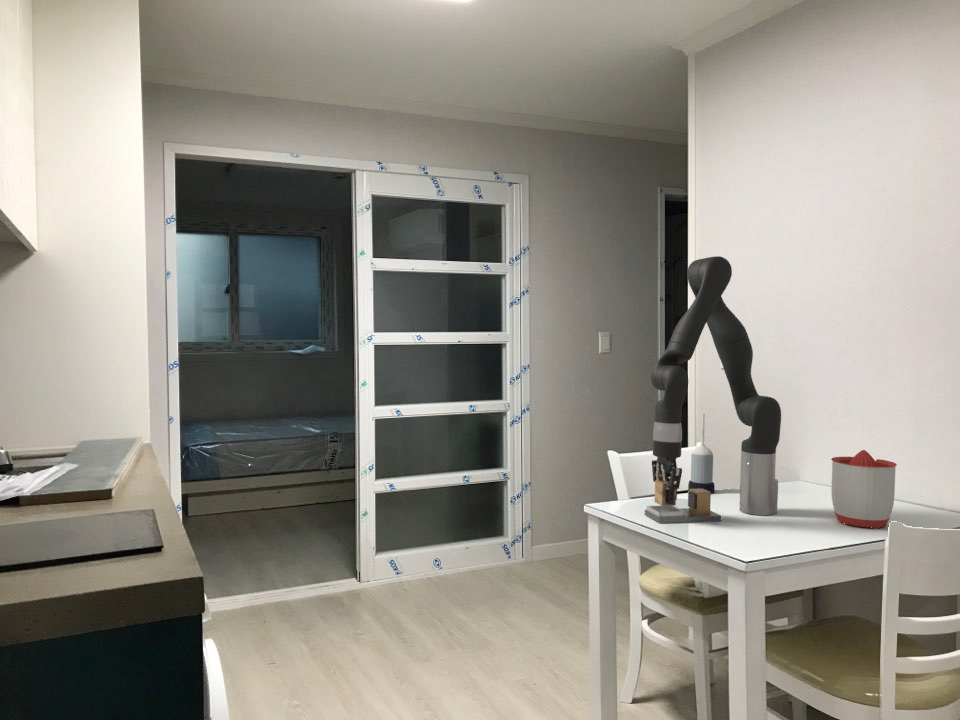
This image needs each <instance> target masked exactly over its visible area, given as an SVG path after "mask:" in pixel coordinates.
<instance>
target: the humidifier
mask: <svg viewBox="0 0 960 720" xmlns="http://www.w3.org/2000/svg"><path fill="white" fill-rule="evenodd" d="M700 434H701V435H700V437H701V438H700V444H699V445H698V446H696V447H695V448H694V449H693V450H692V452H691V455H690V456H691V459H690V480H689V481H688V484H687V485H688V487H687V488H688V489H687V491H688V492H689V489H705V490H707V491H710V492H711V495H712V494H714V493H715V482H713V475H714V472H713V471H714V454H713V452H712V450H711V449H710V448H709V447H707V446H706V444H705V413H701V433H700Z"/></svg>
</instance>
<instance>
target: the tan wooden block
mask: <svg viewBox="0 0 960 720" xmlns="http://www.w3.org/2000/svg"><path fill="white" fill-rule="evenodd" d="M669 482H670V481H669ZM665 485H666V483H665V481H663V480H655V482H654V503H655V504H657V505H658V506H675V507H677V500H678V499H677V498H678V489H676V490H674V503H673V504H667V503H665V495H666V487H665Z"/></svg>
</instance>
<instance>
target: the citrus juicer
mask: <svg viewBox="0 0 960 720" xmlns="http://www.w3.org/2000/svg"><path fill="white" fill-rule="evenodd" d="M830 460H831V465H832V466H831V468H832V469H831V500H832V501H831V502H832V506H833V511H834V512H833V513H834V514H835V517H836V519H837V521H838V522H840V523H842V524H843V523H845V524H849V525H848V526H854V527H861V528H869V527H872V528H871V529H873V528H877V529H878V528H884V527H886V526H887V525H888V522H889V520H890V519H891V518H890V517H891V514H892V512H893V508H894V503H895V493H896V491H895V490H896V489H895V488H896V486H895V485H896V467H897V463H896V462H893V461H890V460H885V459H878V458H877V459H876V460H875V458H874V457H872V455H871V453H869V452H868V451H867V450H865V449H863V450H862V449H861V451H859V452H858V453H856V454H855V455H854V456H834V457H832V458H831V459H830ZM845 524H844V525H845Z"/></svg>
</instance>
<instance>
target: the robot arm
mask: <svg viewBox="0 0 960 720" xmlns="http://www.w3.org/2000/svg"><path fill="white" fill-rule="evenodd" d="M686 271H687V272H686V275H687V281H688V285H689V287H690V289H691V291H692V293H693V295H694V297H695V298H694V300H693V302H692V303H691V305H690V306H689V308H688V309H687V310H686V312H685V313H684V314H683V316H681V318H680V319H679V321H678V323H677V324H676V326H675V327H674V329H673V332H672V334H671V337H670V339H669V342H668V344H667V347H666V349H665V350H664V351H663V353H662V354H661V356H660V357H659V359H658V360H657V361H656V363H655V364H654V366H653V367H652V368H653V369H652V371H651V375H650V380H651V385H652V386H653V387H654V388H655V389H656V390H657V391H662V392H663V391H664V395H663V399H661V400H657V401H656V403H655V405H654V423H653V429H652V431H653V432H652V433H653V434H652V436H653V437H652V455H653V456H654V457H656V459H655V460H653V459H652V460H651V470H652V471H651V472H652V481H653V483H655V480H663V481H665V483H666V485H665V487H666V495H665V503H667V504H673V503H674V490H676V489H677V490H678V489H680V486H681V480H682V474H683V468H681V467H677V466H678V465H677V459H678V458H680V457H681V456H682V442H683V429H682V417H683V416H682V415H683V413H682V412H683V411H682V407H683V405H684V402H685V399H686V395H687V391H688V388H689V377H688V373H687V371H686V369H684V368H683V367H682V366H681V365H682V364H683V363H685V362H688V361H690V360H691V359H692V358H693V356H694V353H695V350H696V348H697V345H698V343H699V340H700V338H701V335H702V334H703V333H702V332H703V330H704V328H705V326H706V325H707V327H708V329H709V332H710V334H711V338H712V341H713V344H714V347H715V349H716V353H717V354H718V355H717V356H718V358H719V359H720V360H719V361H720V363H721V365H722V367H723V370H724V373H725V376H726V379H727V382H728V384H729V388H730V391H731V396H732V401H733V405H734V408H735V413H736V415H737V417H738V419H739V421H740V422H741V423H742V424H743V425H745V426H748V427H751V432H750V436H748V438H746V439H743V440H742V442H741V445H740V447H741V449H740V452H741V453H740V478H739V479H740V481H739V482H740V483H739V511H740V512H741V513H745V514H749V515H757V516H771V515H774V514H778V497H779V496H778V495H779V480H778V479H776V462H777V461H776V458H777V456H776V455H777V447H778V445H779V442H780V435H781V427H782V426H781V425H782V408H781V406H780V403H779V402H778V400H777V399H775V398H774V397H771V396H767V395H766V396H765V395H760V394H759V393H758V391H757V388H756V387H755V384H754V380H753V377H752V366H753V359H754V352H753V351H754V349H753V347H752V343H751V341H750V338H749V334H748V332H747V330H746V327H745V326H744V325H743V323H742V322H741V320H739V319H738V317H737V316H736V315H735V313H733V312H732V311H731V309H730V308H729V307H728V306H727V304H726V303H725V301H724V299H723V298H722V296H723V294H724V292H725V290H726V289H727V287H728V285H729V283H730V282H731V278H732V276H733V270H732V265H731V263H730V262H729V260H728V259H726V257H723V256H719V255H718V256H710V257H704V258H699V259H696V260H693V261H691V263H690V264H689V266H688V267H687V270H686ZM669 481H670V482H669Z"/></svg>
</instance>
